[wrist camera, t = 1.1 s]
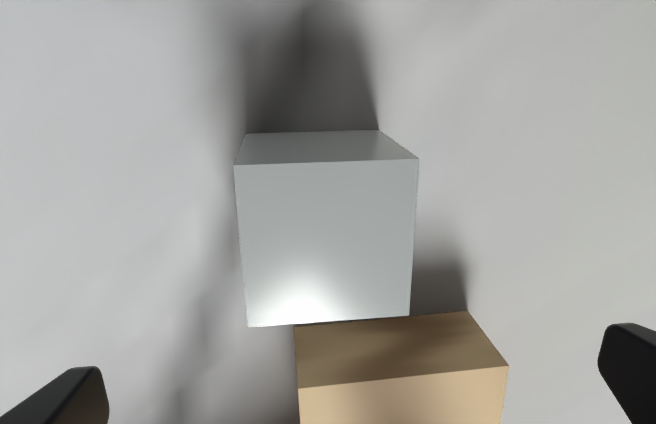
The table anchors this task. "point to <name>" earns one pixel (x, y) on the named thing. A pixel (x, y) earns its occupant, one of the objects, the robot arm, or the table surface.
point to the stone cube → (325, 226)
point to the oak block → (399, 372)
